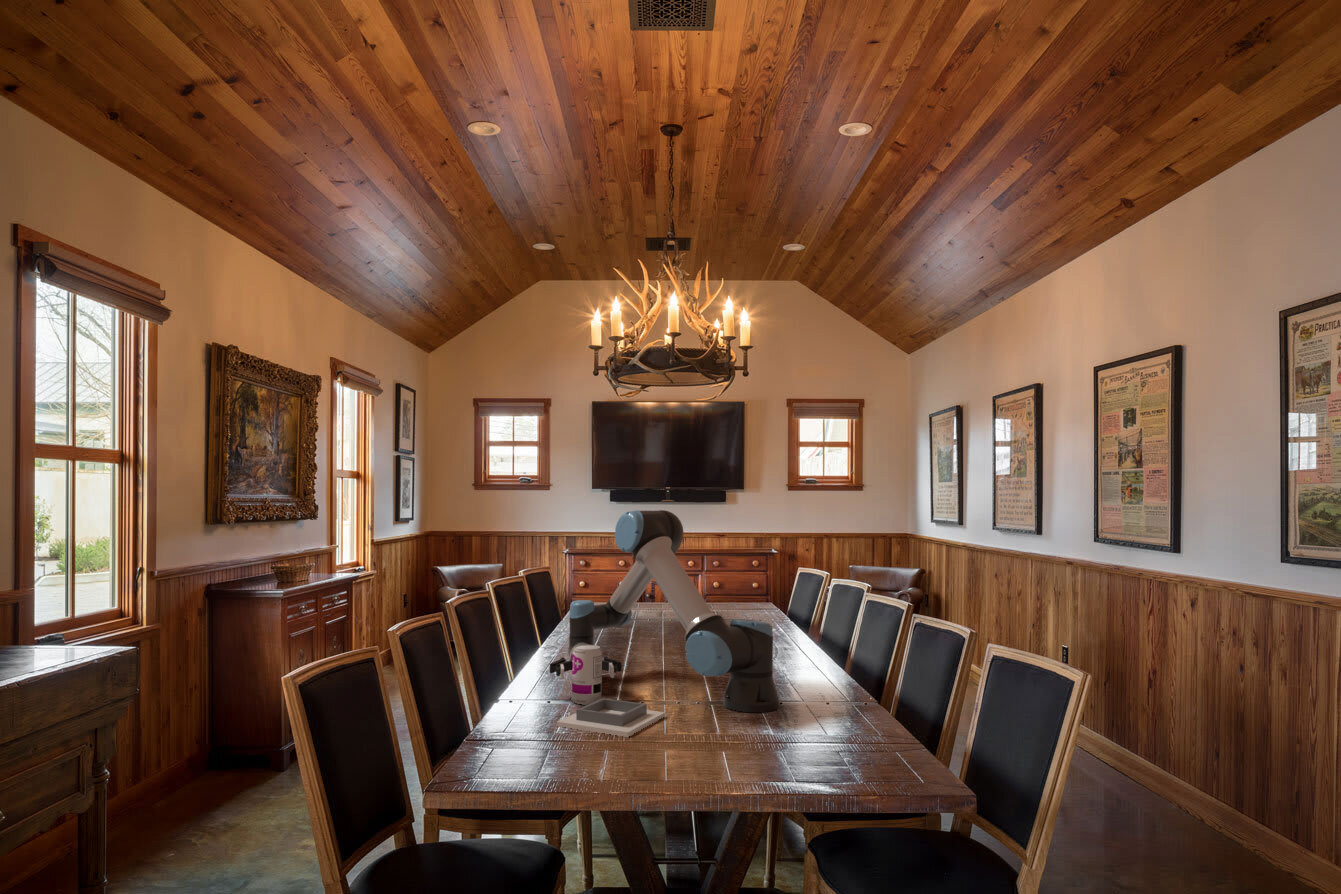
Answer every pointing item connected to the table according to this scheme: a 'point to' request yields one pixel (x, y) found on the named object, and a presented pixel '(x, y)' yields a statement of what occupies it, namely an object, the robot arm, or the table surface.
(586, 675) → the supplement can
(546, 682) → the table surface
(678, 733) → the table surface
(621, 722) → the socket board
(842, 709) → the table surface
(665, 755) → the table surface
